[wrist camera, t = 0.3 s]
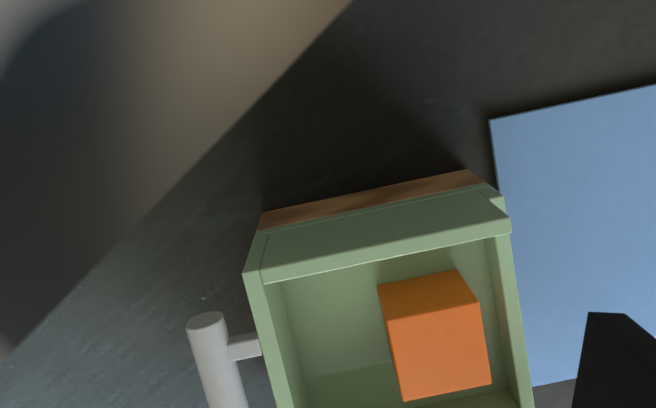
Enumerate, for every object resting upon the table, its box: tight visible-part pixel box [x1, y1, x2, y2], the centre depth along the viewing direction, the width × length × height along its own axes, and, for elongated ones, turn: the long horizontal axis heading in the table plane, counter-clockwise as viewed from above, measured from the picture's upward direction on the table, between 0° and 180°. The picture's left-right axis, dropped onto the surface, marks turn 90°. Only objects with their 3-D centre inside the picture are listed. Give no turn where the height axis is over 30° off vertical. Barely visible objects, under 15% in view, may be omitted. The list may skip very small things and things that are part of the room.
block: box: [377, 269, 492, 402], centre depth 27 cm, size 4×4×4 cm
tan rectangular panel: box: [256, 169, 486, 231], centre depth 32 cm, size 11×11×4 cm
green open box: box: [185, 183, 535, 408], centre depth 27 cm, size 14×11×6 cm
